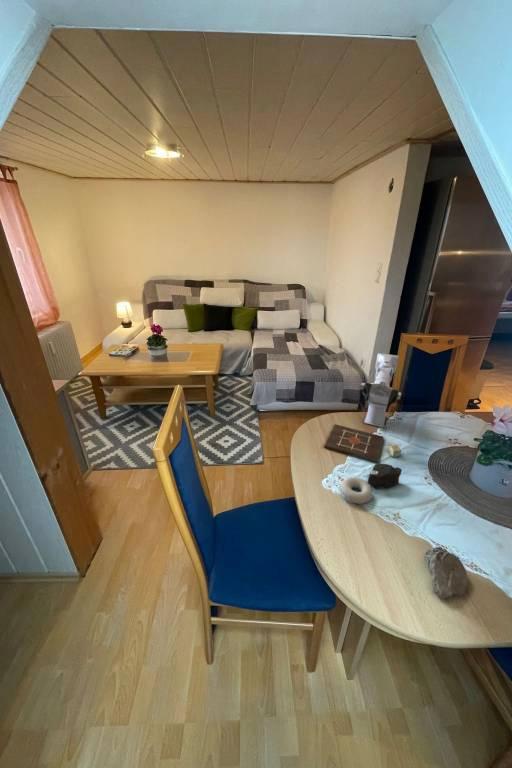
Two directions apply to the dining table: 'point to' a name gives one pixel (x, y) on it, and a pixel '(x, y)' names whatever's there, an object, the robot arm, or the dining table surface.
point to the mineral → (384, 476)
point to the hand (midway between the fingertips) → (378, 401)
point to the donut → (356, 496)
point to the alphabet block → (394, 451)
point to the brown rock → (446, 572)
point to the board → (355, 443)
